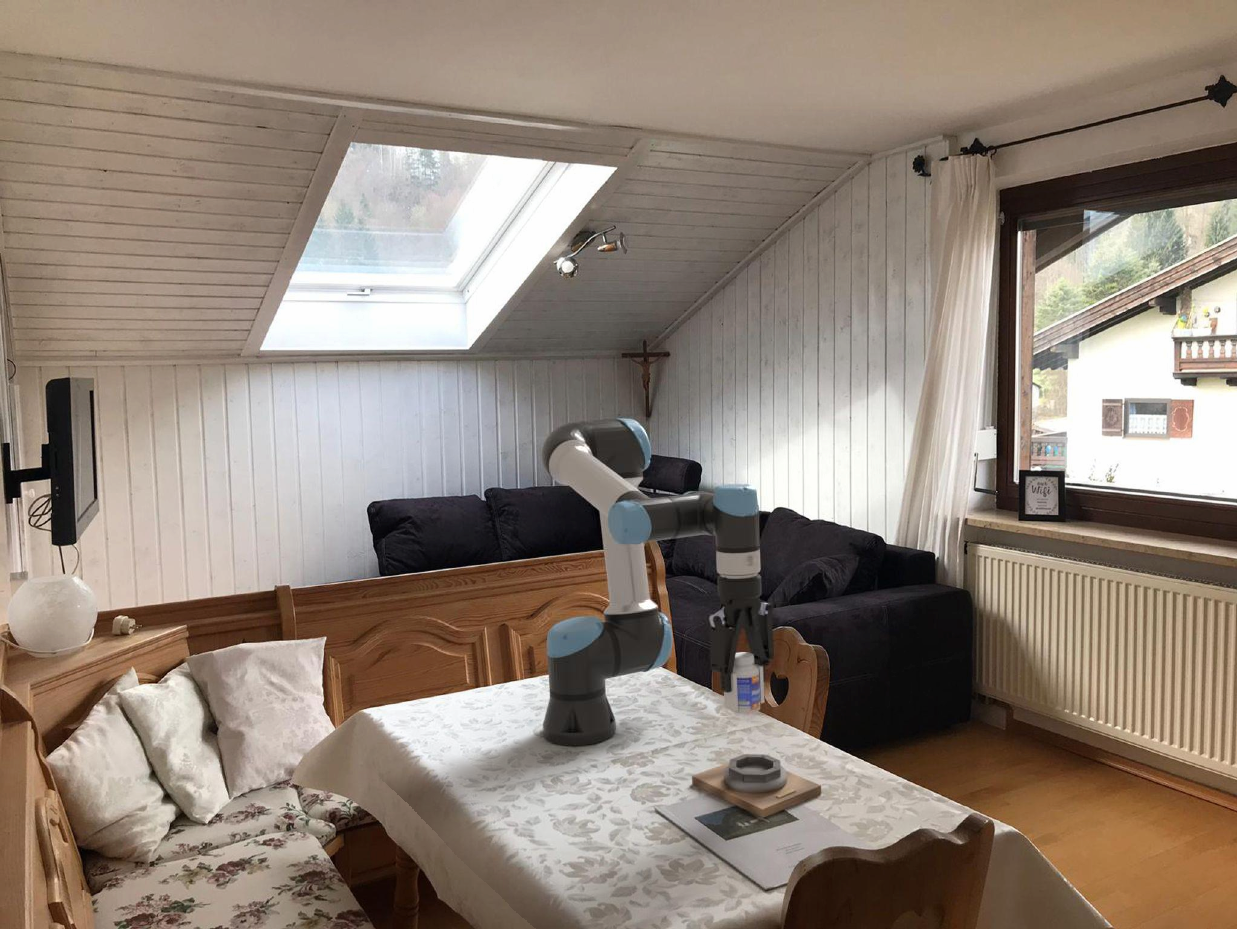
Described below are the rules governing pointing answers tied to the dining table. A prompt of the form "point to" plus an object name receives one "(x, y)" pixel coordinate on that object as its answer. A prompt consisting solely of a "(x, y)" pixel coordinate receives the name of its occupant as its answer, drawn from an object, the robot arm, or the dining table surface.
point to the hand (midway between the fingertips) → (744, 704)
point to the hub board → (757, 799)
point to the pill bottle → (747, 683)
